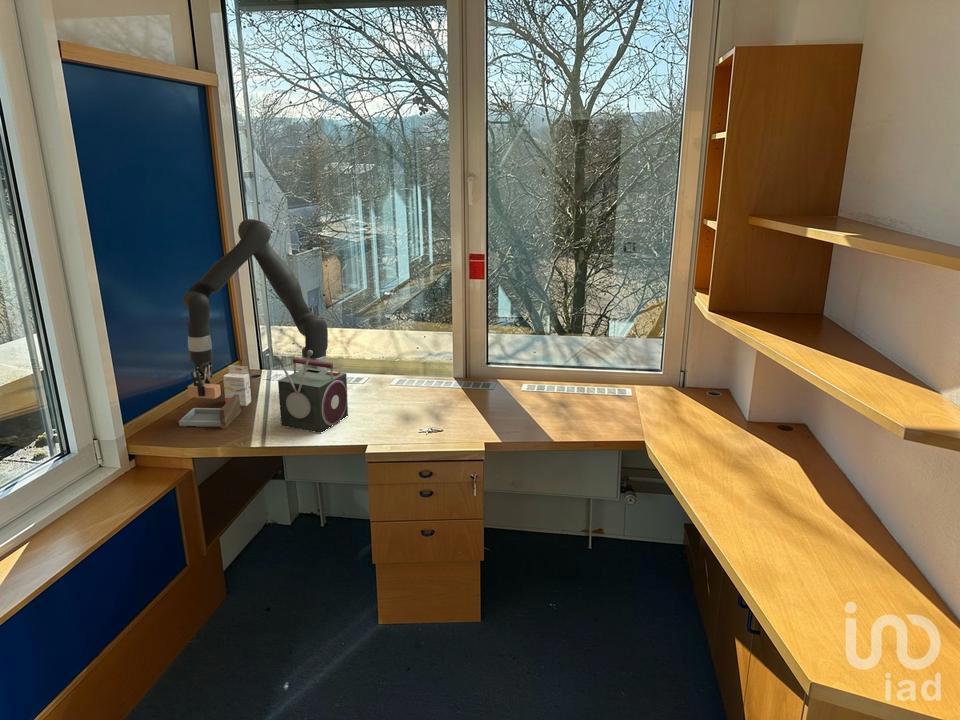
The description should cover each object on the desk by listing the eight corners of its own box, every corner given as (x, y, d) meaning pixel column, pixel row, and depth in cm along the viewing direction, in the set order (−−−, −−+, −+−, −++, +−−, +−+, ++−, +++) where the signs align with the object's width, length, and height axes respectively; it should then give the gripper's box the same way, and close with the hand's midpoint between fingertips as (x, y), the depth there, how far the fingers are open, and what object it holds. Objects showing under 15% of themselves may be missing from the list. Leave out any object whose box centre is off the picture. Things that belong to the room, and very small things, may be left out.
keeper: (234, 413, 245) (234, 408, 245) (222, 427, 233) (221, 422, 232) (193, 412, 245) (193, 408, 245) (179, 426, 233) (178, 421, 232)
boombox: (351, 415, 246) (348, 338, 237) (319, 436, 228) (314, 352, 219) (310, 408, 252) (305, 332, 244) (275, 427, 234) (269, 346, 225)
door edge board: (240, 412, 247) (239, 394, 245) (225, 428, 232) (223, 410, 230) (236, 411, 247) (234, 394, 245) (221, 428, 232) (219, 410, 230)
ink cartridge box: (224, 405, 253) (221, 368, 249) (230, 400, 258) (227, 364, 254) (246, 406, 253) (243, 369, 248) (252, 401, 257) (249, 365, 253)
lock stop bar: (220, 395, 238) (219, 384, 236) (215, 398, 234) (214, 388, 233) (194, 393, 239) (193, 382, 238) (188, 396, 235) (187, 386, 234)
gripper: (203, 353, 224) (207, 400, 229) (218, 342, 238) (222, 387, 243) (180, 353, 224) (185, 400, 229) (197, 342, 238) (201, 387, 243)
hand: (204, 393), depth 236 cm, fingers closed on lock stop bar, 4 cm apart
